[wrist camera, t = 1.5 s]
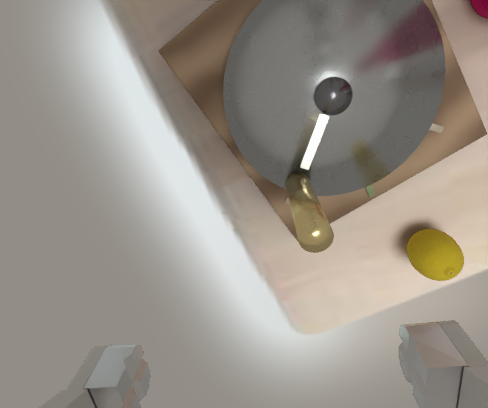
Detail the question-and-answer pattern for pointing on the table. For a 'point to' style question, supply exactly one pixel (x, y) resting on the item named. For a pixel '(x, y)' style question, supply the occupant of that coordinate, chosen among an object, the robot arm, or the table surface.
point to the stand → (212, 104)
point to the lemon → (435, 254)
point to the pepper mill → (481, 7)
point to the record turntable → (332, 96)
